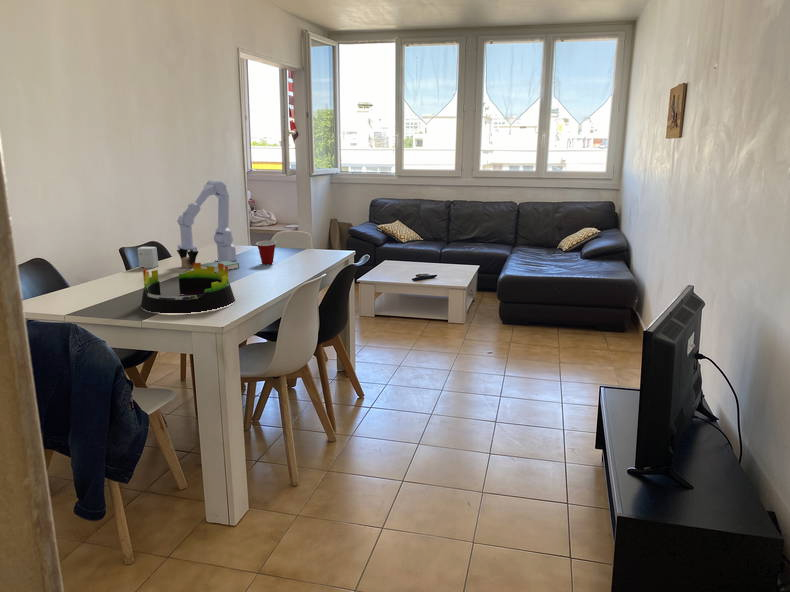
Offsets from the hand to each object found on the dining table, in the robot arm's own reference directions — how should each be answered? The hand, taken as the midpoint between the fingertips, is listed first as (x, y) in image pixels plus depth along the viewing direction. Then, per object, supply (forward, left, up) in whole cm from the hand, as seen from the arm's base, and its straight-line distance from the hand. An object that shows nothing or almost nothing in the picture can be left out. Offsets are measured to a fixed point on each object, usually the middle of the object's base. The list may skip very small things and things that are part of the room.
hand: (188, 263), depth 325 cm
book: (-7, +17, -2) cm, 18 cm away
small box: (+14, -15, -2) cm, 21 cm away
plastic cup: (-32, +25, -2) cm, 41 cm away
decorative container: (+44, +67, -2) cm, 80 cm away
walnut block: (0, 0, -2) cm, 2 cm away
